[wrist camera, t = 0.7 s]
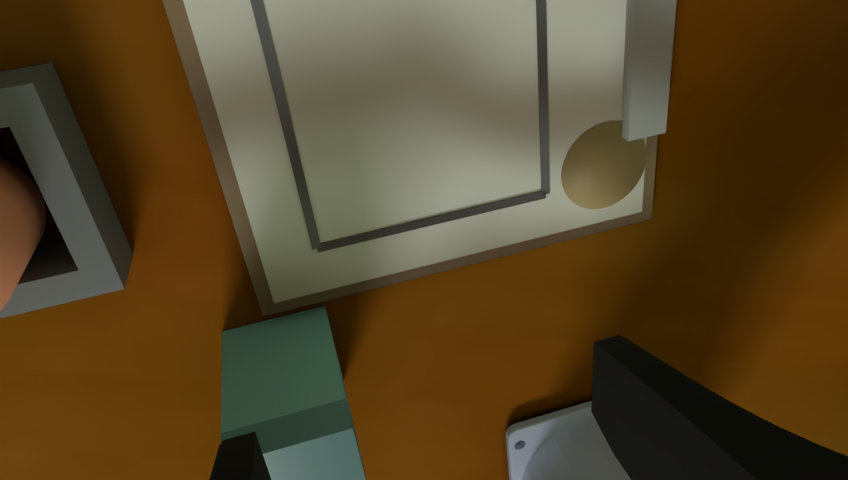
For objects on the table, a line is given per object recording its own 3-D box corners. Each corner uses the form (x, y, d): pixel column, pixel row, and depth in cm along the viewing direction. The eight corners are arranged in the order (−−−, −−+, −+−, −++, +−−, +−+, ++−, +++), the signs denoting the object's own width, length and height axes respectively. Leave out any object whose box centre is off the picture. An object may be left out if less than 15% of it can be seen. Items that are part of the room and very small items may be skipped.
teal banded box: (343, 380, 25) (373, 510, 20) (249, 405, 24) (255, 547, 19) (324, 305, 23) (352, 428, 18) (222, 331, 22) (220, 466, 17)
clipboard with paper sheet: (645, 214, 24) (660, 226, 24) (262, 310, 22) (263, 327, 21) (671, -170, 18) (693, -173, 17) (135, -93, 16) (130, -91, 15)
